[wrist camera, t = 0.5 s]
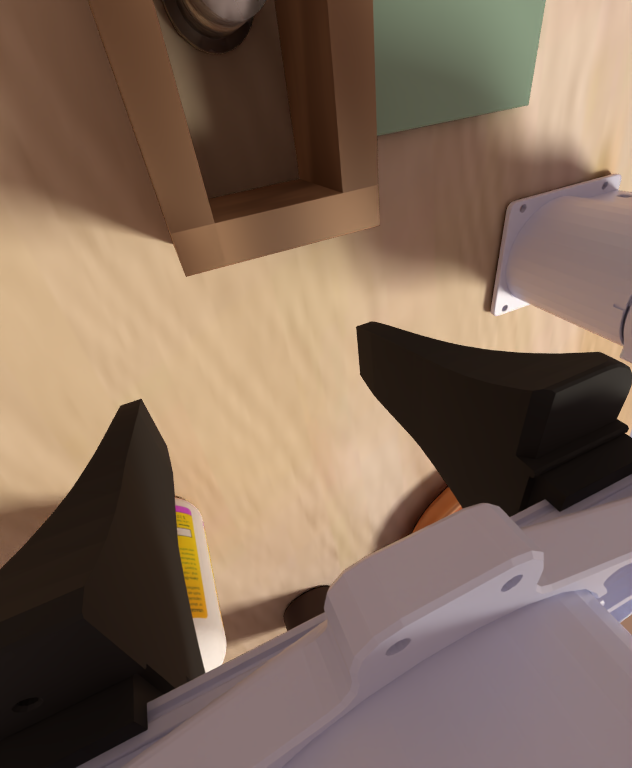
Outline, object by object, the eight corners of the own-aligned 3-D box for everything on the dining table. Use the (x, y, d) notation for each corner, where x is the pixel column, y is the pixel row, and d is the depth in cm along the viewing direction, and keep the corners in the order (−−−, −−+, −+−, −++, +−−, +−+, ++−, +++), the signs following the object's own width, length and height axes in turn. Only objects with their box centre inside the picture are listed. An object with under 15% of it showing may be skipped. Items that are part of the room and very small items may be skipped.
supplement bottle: (79, 524, 25) (49, 784, 15) (175, 476, 26) (204, 692, 16) (135, 568, 29) (140, 794, 20) (216, 526, 30) (259, 721, 20)
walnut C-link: (300, -113, 14) (366, -201, 10) (332, 205, 20) (379, 225, 17) (51, -104, 12) (15, -210, 8) (173, 244, 18) (185, 276, 15)
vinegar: (281, 630, 44) (365, 905, 28) (283, 597, 40) (380, 893, 25) (335, 609, 46) (439, 852, 31) (342, 576, 42) (464, 834, 27)
